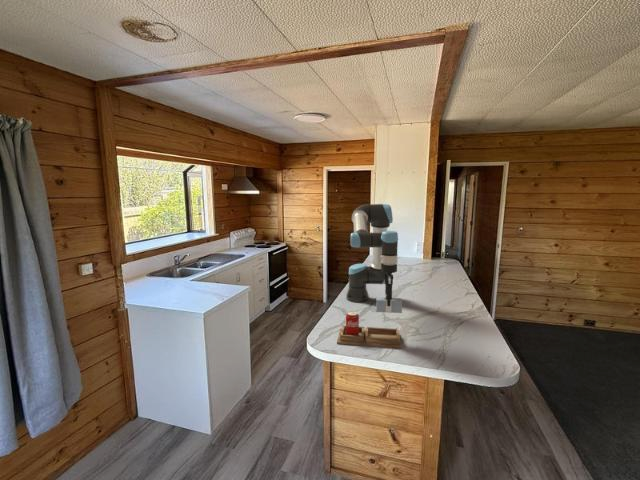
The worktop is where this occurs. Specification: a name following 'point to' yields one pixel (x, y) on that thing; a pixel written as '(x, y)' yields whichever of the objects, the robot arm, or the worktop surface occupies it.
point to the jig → (371, 337)
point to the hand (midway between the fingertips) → (388, 309)
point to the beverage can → (352, 323)
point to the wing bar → (395, 306)
